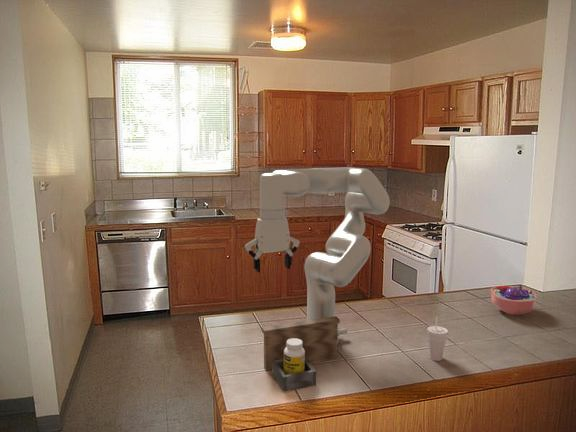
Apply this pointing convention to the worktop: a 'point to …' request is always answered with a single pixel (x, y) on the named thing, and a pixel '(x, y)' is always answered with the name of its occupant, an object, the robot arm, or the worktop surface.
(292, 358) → the pill bottle
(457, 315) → the worktop surface
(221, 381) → the worktop surface
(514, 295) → the cell model
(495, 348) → the worktop surface
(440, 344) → the smoothie
